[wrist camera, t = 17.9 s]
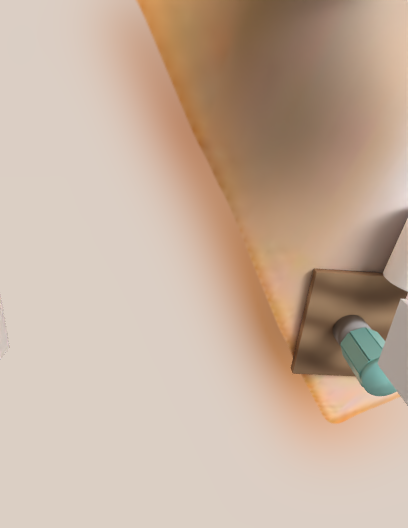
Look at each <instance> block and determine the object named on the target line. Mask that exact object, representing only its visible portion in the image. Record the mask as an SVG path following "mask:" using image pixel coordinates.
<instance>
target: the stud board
mask: <svg viewBox="0 0 408 528" xmlns="http://www.w3.org/2000/svg"><path fill="white" fill-rule="evenodd" d="M407 293H408V292H407V291H405V290H403V289H401V288H399V287H397V286H395V285H393V284H392V283H390V282H389V281H388V280H387V279H386V278H385V277H384V275H383V273H374V272H358V271H342V270H326V269H314V271H313V275H312V279H311V284H310V288H309V292H308V297H307V301H306V305H305V309H304V314H303V318H302V322H301V327H300V331H299V335H298V340H297V344H296V348H295V352H294V357H293V361H292V365H291V370H292V372H293V373H296V374H318V375H342V376H355V374H354V373H353V371H352V369H351V368H350V366H349V365H348V363H347V361H346V360H345V358H344V356H343V354H342V350H341V346H340V344H341V342H342V341H343V339H344V338H345V337H346V335H347V334H348V333H350V331H353V330H356V329H360V328H363V327H365V328H366V327H367V328H369V329H371V330H374V331H376V332H378V333H379V334H380V336H381V337H382V338H383V339H384V340H385V341H386V338H387V335H388V333H389V330H390V327H391V324H392V321H393V319H394V316H395V313H396V310H397V307H398V305H399V302H400V299H406V296H407Z"/></svg>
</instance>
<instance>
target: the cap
mask: <svg viewBox="0 0 408 528" xmlns="http://www.w3.org/2000/svg"><path fill="white" fill-rule="evenodd" d="M384 344H385V340H384V339H383V338H382V337H381V336H380V334H379V333H378V332H376V331H374V330H371V329H369V328H367V327H366V328H365V327H363V328H360V329H356V330H353V331H350V333H348V334H347V335H346V337H345V338H344V339H343V341H342V342H341V344H340V346H341V350H342V354H343V356H344V358H345V360H346V361H347V363H348V365H349V366H350V368H351V369H352V371H353V373H354V374H355V376H356V378H357V379H358V381H359V383H360V384H361V386H362V387H364V388H365V390H366V391H367V392H368V393H370V394H372V395H375V396H386V395H390V394H392V393H394V392H396V391H397V390H396V389H395V388H394V386H393V385H392V383H391V382H390V381H389V379H388V378H387V377H386V375H385V374H384V372H383V371H382V370H381V368H380V367H379V365H378V364H377V363H378V360H379V358H380V355H381V352H382V349H383V347H384Z"/></svg>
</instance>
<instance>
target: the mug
mask: <svg viewBox="0 0 408 528" xmlns="http://www.w3.org/2000/svg"><path fill="white" fill-rule="evenodd" d="M383 275H384V277H385V278H386V279H387V280H388V281H389V282H390V283H392V284H393V285H395V286H397V287H399V288H401V289H403V290H405V291H407V292H408V218H407V220H406V223H405V225H404V227H403V229H402V232H401V234H400V236H399V238H398V240H397V243H396V245H395V247H394V249H393V252H392V254H391V256H390V258H389V260H388V263H387V265H386V267H385V269H384V272H383Z"/></svg>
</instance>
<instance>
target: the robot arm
mask: <svg viewBox="0 0 408 528" xmlns="http://www.w3.org/2000/svg"><path fill="white" fill-rule="evenodd" d="M9 347H10V346H9V341H8V335H7V330H6V324H5V318H4V313H3V307H2V302H1V296H0V359H1V358H2V357H3V355H4V354H5V353H6V351H7V350H8V349H9ZM377 364H378V365H379V367H380V368H381V370H382V371H383V372H384V374H385V375H386V377H387V378H388V379H389V381H390V382H391V383H392V385H393V386H394V388H395V389H396V390H397V392H398V393H399V394H400V396H401V397H402V398H403V400H404V401H405V403H406V404H407V406H408V299H400V302H399V305H398V307H397V310H396V313H395V316H394V319H393V321H392V324H391V327H390V330H389V333H388V335H387V338H386V341H385V344H384V347H383V349H382V352H381V355H380V358H379V360H378V363H377Z"/></svg>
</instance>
